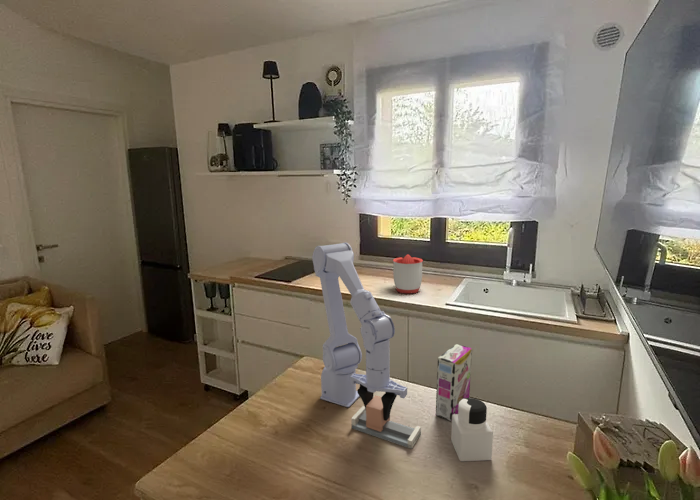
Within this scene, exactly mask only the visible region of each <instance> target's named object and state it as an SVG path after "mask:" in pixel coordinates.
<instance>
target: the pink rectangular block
mask: <svg viewBox="0 0 700 500" xmlns="http://www.w3.org/2000/svg"><path fill="white" fill-rule="evenodd" d="M381 397H382V396H379V395H374V396H373V399H372V400H371V401H370V402H369V403H368V404H367V405H366V427H368V428H371V429H374V430H377V431H380V432H381V431H382V430H383V426H384V425H385V423H386V422H387V421H388V422H389V421H391V416H390V417H389V418H388V420H387V421H385V420H384V418H383V404H382V400H381Z"/></svg>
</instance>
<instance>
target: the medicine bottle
mask: <svg viewBox="0 0 700 500" xmlns="http://www.w3.org/2000/svg"><path fill="white" fill-rule="evenodd" d="M487 409H488V408H487V405H486V404H485V402H483V401H482V400H480V399H477V398H476V397H475V398H473V397H469V398H464V399H462V400H461V401H460V402H459V408H458V414H453V415H452V422H451V435H450V436H451V437H450V438H451V439H450V440H451V443H452V446H453V448H454V450H455V453H456V455H457V457H458V460H459V461H460V462H477V461H480V462H481V461H491V460H492V459H493V457H492V456H493V440H494V439H493V438H494V432H493V429H492V428H491V426H490V425H489V423H488V421H487V411H488V410H487Z"/></svg>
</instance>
